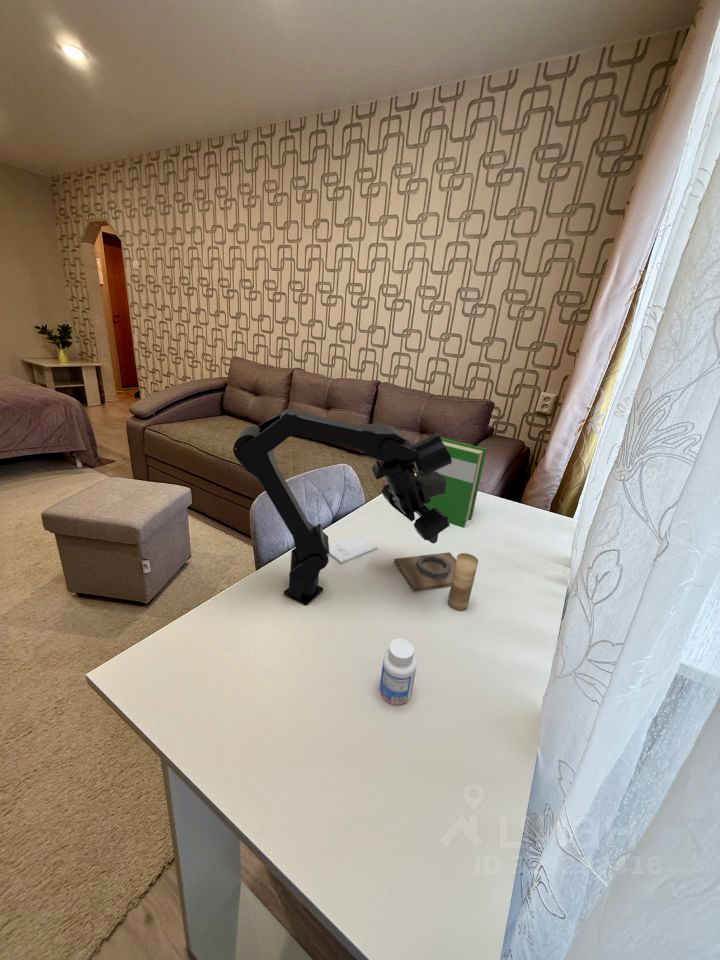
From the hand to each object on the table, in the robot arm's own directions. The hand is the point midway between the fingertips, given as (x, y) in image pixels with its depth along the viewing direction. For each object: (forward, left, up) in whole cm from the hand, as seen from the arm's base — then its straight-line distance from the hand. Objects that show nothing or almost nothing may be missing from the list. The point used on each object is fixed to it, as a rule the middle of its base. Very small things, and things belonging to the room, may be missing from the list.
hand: (423, 530), depth 90 cm
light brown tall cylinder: (-3, -11, -14) cm, 18 cm away
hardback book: (+37, +7, -14) cm, 40 cm away
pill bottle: (-31, -9, -14) cm, 35 cm away
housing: (+5, -2, -14) cm, 15 cm away
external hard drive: (+1, +20, -14) cm, 24 cm away
